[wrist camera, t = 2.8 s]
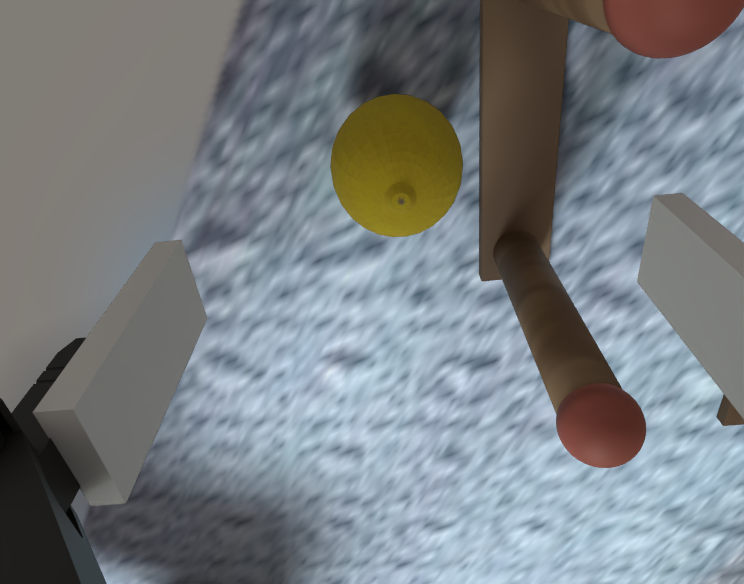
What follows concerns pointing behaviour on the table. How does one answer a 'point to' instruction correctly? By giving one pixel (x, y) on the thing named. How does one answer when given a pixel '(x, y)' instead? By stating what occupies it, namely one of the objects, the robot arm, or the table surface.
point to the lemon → (396, 165)
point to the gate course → (537, 187)
